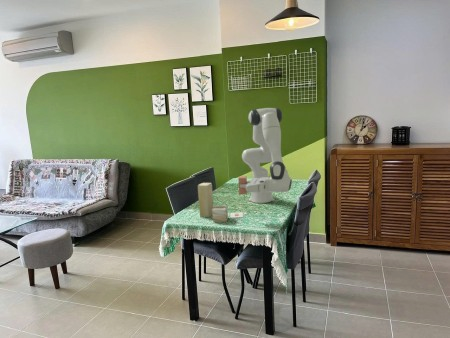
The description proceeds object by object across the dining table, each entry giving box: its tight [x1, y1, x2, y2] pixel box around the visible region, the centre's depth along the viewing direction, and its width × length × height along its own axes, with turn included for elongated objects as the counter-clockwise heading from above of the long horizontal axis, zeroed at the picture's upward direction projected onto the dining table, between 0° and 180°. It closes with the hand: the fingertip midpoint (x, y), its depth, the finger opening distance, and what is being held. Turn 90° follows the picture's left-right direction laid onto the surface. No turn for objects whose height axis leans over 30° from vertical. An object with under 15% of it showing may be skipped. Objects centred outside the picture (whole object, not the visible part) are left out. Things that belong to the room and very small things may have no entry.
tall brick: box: [237, 175, 248, 195], centre depth 206 cm, size 4×4×10 cm
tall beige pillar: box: [197, 182, 214, 218], centre depth 220 cm, size 8×7×21 cm
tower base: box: [212, 205, 229, 223], centre depth 211 cm, size 8×8×8 cm
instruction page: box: [229, 211, 244, 219], centre depth 219 cm, size 10×8×1 cm
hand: (241, 184), depth 206 cm, fingers closed on tall brick, 5 cm apart
